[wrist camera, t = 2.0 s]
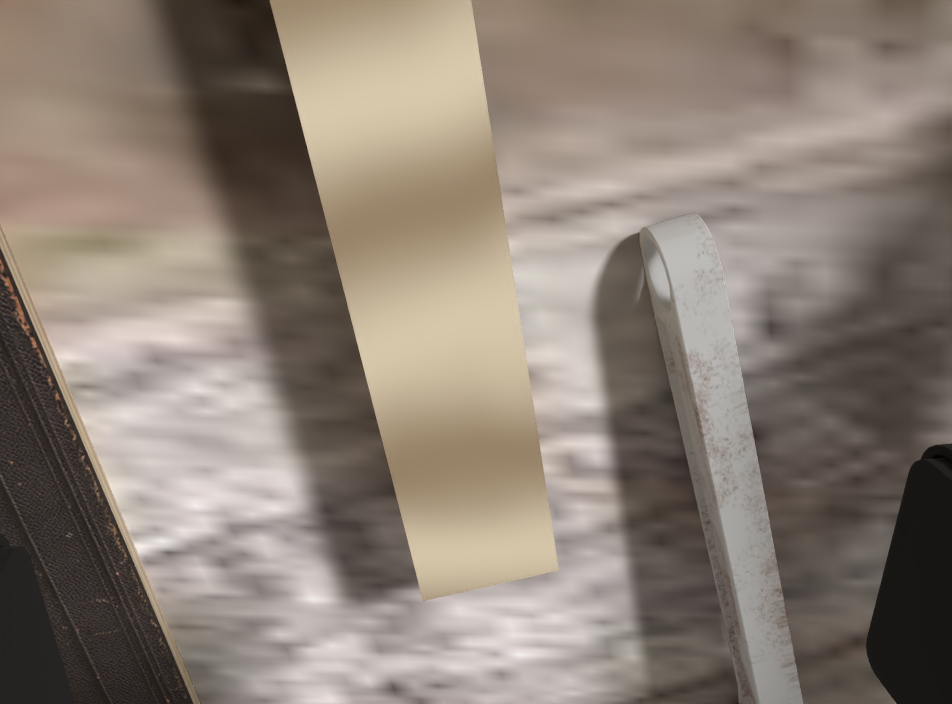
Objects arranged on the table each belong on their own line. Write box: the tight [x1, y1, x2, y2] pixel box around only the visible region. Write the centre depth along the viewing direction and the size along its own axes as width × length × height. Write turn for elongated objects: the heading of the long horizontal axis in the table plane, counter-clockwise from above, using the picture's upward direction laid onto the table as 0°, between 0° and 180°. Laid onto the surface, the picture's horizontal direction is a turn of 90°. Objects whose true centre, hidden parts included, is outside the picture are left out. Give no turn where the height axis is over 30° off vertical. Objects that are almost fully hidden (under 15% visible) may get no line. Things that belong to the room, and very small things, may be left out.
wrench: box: [639, 213, 803, 704], centre depth 31 cm, size 8×2×30 cm
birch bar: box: [270, 0, 559, 601], centre depth 23 cm, size 24×4×5 cm, turn 9°
